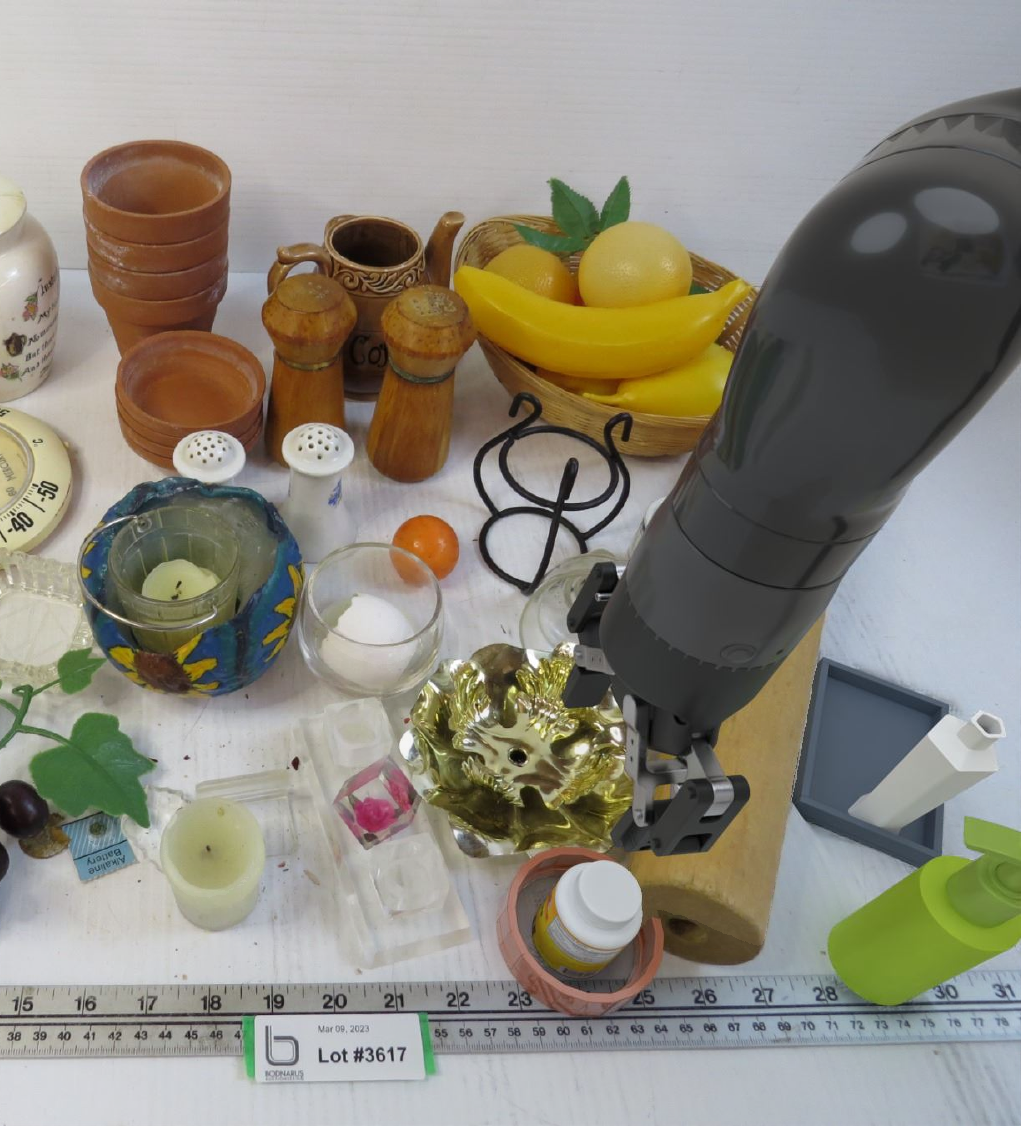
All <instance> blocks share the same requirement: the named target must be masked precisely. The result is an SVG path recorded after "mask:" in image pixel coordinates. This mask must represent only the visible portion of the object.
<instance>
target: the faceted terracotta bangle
mask: <svg viewBox="0 0 1021 1126" xmlns="http://www.w3.org/2000/svg"><path fill="white" fill-rule="evenodd" d="M601 860H607V861H612V862H615V863H618V864H620V865H622V866H623V867H625V868H626V869H627V870H629V868H627V867H626V866H624V865H623V864H621V863H619V862H618V861H616V860H615V859H614V858H612V857H610V856H608V855H607V854H604V853H602V852H600V851H599V852H598V851H595V850H592V849H589V848H586V847H582V846H557V847H553V848H548V849H547V850H546V849H545V850H544V851H540V852H538V853H536V854H535V855H534V856H533V857H531V858H530V859H528V860H527V861H526V862H525V863H523V864H522V865H521V866H520V868H519V870H518V871H517V872H516V874H515V876H514V877H513V879H512V880H511V882H510V884H509V885H508V887H507V889H506V890H505V892H504V894H503V895H502V897H501V899H500V901H499V903H498V908H497V909H498V910H497V915H496V920H495V929H496V937H497V943H498V944H497V945H498V948H499V951H500V953H501V956H502V959H503V960H504V962H505V965H506V967H507V969H508V971H509V973H510V974H511V975H512V976H513V978H514V979H515V980H516V982H517V983H518V985H520V986H521V987H522V989H523V990H524V991H525V992H526V993H527V994H528V995H530V996H531V997H532V998H534V999H535V1000H537V1001H538V1002H539V1003H541V1004H542V1005H543V1006H545V1007H546V1008H548V1009H550V1010H553V1011H556V1012H559V1013H562V1014H564V1015H567V1016H571V1017H574V1018H600V1017H603V1016H604V1015H608V1014H611V1013H613V1012H617V1011H619V1010H621V1009H622V1008H623V1007H624V1006H626V1005H627V1004H628V1003H629V1002H630V1001H631V1000H632V999H633V998H635V997H636V996H638V995H639V993H641V991H643V990H644V989H645V988H646V987H647V986H648V985H650V983H652V982H653V980H654V979H655V977H656V975H657V972H658V970H659V968H660V966H661V964H662V962H663V958H664V957H663V956H664V944H665V943H664V941H665V933H664V929H663V926H662V921H661V918H660V919H657V918H654V917H651V918H650V919H649V920H647V922H646V924H645V925H643V926H642V928H641V929H639V931H638V933H637V934H636V936H635V937H634V938H633V939H632V943H633V948H634V953H633V963H632V970H631V971H630V974H629V976H628V978H627V980H626V982H625V984H624V985H623V987H621V988H620V989H619V990H615V991H612V992H610V993H609V992H587V991H584V990H581V989H579V988H575V987H572V986H570V985H567V984H565V983H563V982H562V981H560V980H559V979H558V978H556V977H555V976H553V975H552V974H550V973H549V972H547V971H546V970H545V969H544V968H543V966H541V964H540V963H539V962H538V961H537V960H536V958H535V957H534V956H533V955H532V954H531V952H530V950H529V949H528V947H527V945H526V942H525V940H524V938H523V936H522V934H521V931H520V929H519V927H520V926H519V922H518V921H519V920H518V914H517V903H518V897H519V895H520V893H521V892H522V891H523V890H524V889H527V887H528V886H530V885H531V884H532V883H534V882H537V881H539V880H543V879H546V878H549V877H560V878H561V877H562V876H563V874H564V873H565V872H566V871H568V870H569V869H570V868H572V867H573V866H576V865H578V864H582V863H588V862H595V861H601Z"/></svg>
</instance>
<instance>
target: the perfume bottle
mask: <svg viewBox="0 0 1021 1126" xmlns="http://www.w3.org/2000/svg"><path fill="white" fill-rule="evenodd" d="M1004 738H1007V732H1006V728H1005V723H1004V721H1003V720H1002V719H1001V718H1000V717H998V716H996V715H994V714H992V713H989V712H987V711H985V710H983V709H980V710H978V711H977V712H976V713H975V714H974V715H972V717H971V718H970V720H969V721H968V722H967V721H965V720H962V719H961V718H958V717H956V716H954V715H952V714H950V713H949V714H947V715H945V717H944V718H943V719H942V720H941V721H940V722H939V723H938V724H937V725H936V726H935V727H934V728H933V729H932V730H931V731H930V732H929V733H928V734H927V735H926V736H925V737H924V738H923V739H922V740H921V741H920V742H919V743H918V744H917V745H916V746H915V747H914V748H913V749H912V750H911V751H910V752H909V753H908V755H907V756H906V757H905V758H904V759H903V760H902V761H901V762H900V763H899V764H898V765H897V766H896V767H895V768H894V769H893V770H892V771H891V772H890V773H889V774H888V775H887V776H886V777H885V779H884V780H883V781H882V782H881V783H880V784H879V785H878V786H877V787H876V788H875V789H874V790H873V791H872V792H871V793H869V794H866V795H863V796H861V797H860V798H859V799H858V800H857V801H856V802H855V803H854V804H853V805H852V806H851V807H850V808H849V809H848V813H849V814H850V816H853V817H855V818H858V819H860V820H862V821H865V822H867V823H870V824H872V825H874V826H877V827H879V828H881V829H884V830H886V831H889V832H891V833H893V834H896V835H898V834H899V832H900V830H901V828H902V827H904V826H906V825H907V824H909V823H911V822H912V821H914V820H916V819H917V818H919V817H921V816H922V815H924V814H926V813H928V812H929V811H931V810H933V809H934V808H936V807H938V806H939V805H941V804H943V803H944V804H945V803H946V802H948V801H950V800H951V799H954V797H956V796H958V795H960V794H961V793H963V792H965V791H967V790H968V789H971V788H972V787H973V786H975V785H976V784H978V783H980V782H982V781H983V780H986V779H987V778H989V777H990V776H992V775H994V774H995V773H997V772H998V771H999V770H1000V766H999V762H998V756H997V752H996V747H995V743H996V742H997V741H998V740H1000V739H1004Z"/></svg>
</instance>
